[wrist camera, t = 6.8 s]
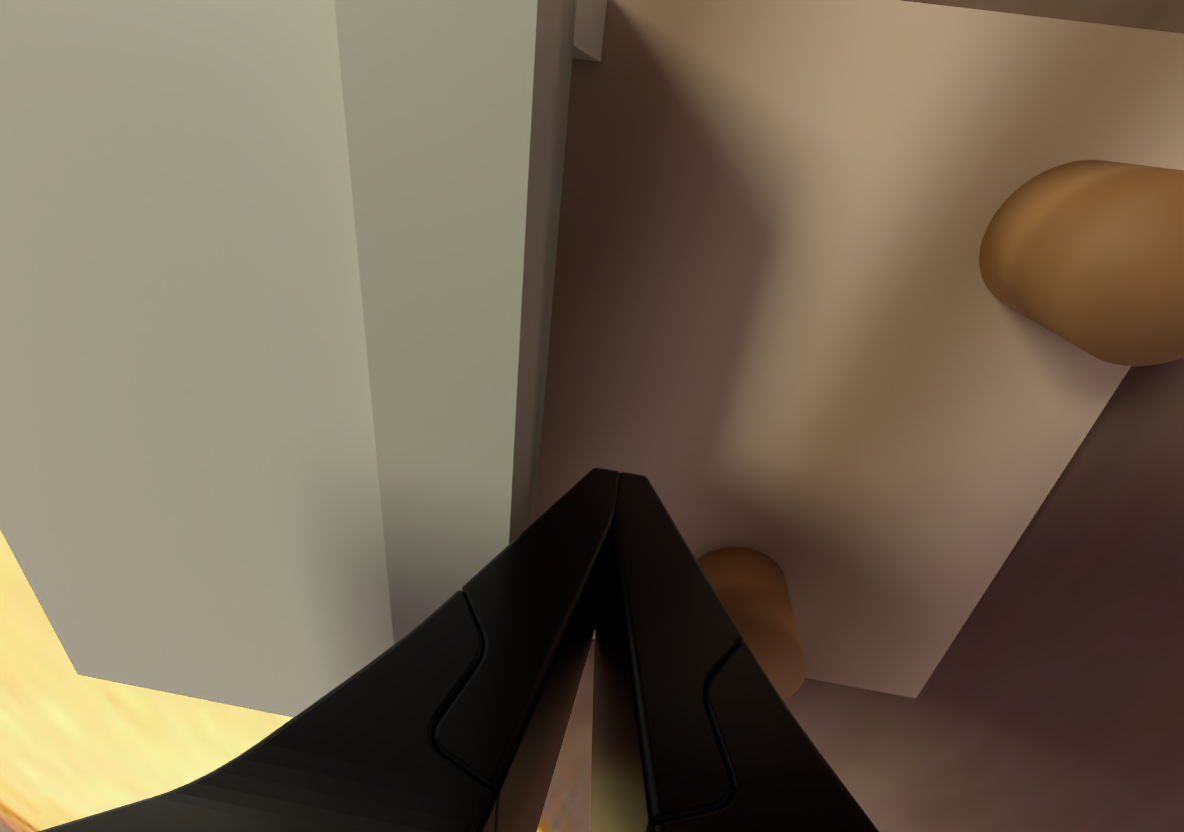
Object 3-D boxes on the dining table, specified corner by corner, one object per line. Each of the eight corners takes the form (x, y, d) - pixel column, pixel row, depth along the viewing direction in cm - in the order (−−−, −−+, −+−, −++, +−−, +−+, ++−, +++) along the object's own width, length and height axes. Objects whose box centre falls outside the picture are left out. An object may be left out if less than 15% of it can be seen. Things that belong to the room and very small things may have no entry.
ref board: (1262, 56, 8) (1581, 31, 5) (901, 662, 14) (955, 796, 12) (9, -91, 9) (-289, -180, 6) (200, 535, 15) (97, 629, 13)
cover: (607, -7, 8) (543, -119, 4) (542, 624, 14) (494, 816, 10) (-8, -82, 8) (-591, -241, 4) (197, 560, 14) (28, 720, 11)
